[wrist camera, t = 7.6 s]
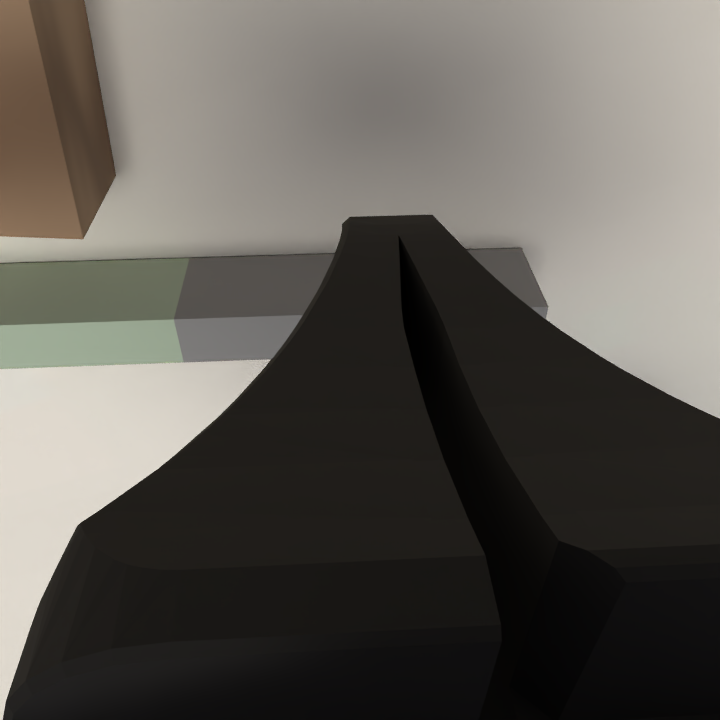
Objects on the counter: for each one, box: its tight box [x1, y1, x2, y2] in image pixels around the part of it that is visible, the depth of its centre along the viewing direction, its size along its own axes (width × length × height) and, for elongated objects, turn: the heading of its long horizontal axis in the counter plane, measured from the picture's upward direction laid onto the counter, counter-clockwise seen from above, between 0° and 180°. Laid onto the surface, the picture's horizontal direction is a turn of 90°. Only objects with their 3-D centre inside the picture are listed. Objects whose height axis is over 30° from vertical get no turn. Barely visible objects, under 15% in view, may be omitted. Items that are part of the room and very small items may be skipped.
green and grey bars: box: [0, 248, 548, 369], centre depth 15 cm, size 13×18×3 cm
